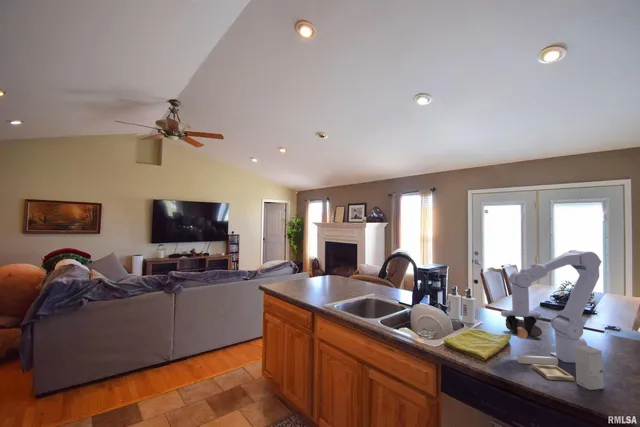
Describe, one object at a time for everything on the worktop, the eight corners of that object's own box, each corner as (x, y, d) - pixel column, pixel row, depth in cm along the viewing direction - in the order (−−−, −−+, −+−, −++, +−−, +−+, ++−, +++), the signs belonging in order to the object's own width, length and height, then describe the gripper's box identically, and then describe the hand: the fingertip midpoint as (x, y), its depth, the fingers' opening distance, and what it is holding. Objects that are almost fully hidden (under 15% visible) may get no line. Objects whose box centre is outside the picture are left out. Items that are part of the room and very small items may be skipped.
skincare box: (590, 390, 92) (589, 352, 93) (575, 383, 97) (573, 346, 97) (604, 388, 94) (603, 350, 94) (589, 381, 98) (587, 345, 99)
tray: (556, 368, 107) (556, 365, 107) (574, 380, 98) (574, 377, 98) (531, 367, 107) (531, 364, 107) (547, 379, 99) (547, 375, 99)
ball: (523, 336, 120) (523, 326, 120) (530, 340, 115) (530, 329, 116) (512, 336, 120) (512, 325, 120) (518, 340, 116) (518, 329, 116)
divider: (555, 363, 111) (555, 357, 111) (558, 365, 109) (557, 358, 110) (517, 361, 112) (517, 355, 112) (519, 363, 111) (519, 356, 111)
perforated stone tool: (544, 337, 138) (543, 323, 138) (540, 340, 134) (539, 325, 135) (509, 328, 150) (508, 315, 150) (504, 330, 147) (504, 317, 147)
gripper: (533, 299, 122) (533, 332, 121) (497, 298, 123) (497, 330, 123) (544, 303, 115) (545, 338, 114) (505, 302, 116) (506, 336, 116)
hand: (521, 334), depth 118 cm, fingers closed on ball, 4 cm apart
